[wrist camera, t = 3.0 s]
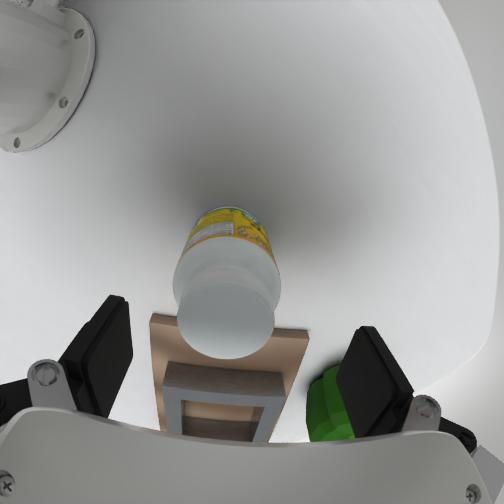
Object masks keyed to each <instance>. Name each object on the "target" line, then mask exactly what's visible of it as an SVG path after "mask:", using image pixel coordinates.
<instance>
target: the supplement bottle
mask: <svg viewBox="0 0 504 504" xmlns="http://www.w3.org/2000/svg"><path fill="white" fill-rule="evenodd" d="M280 292H281V281H280V274H279V271H278V268H277V265H276V262H275V260H274V257H273V254H272V250H271V247H270V244H269V241H268V238H267V235H266V232H265V230H264V228H263V226H262V224H261V223H260V222H259V220H258V219H257V218H255V217H254V216H253V215H252V214H250V213H248V212H247V211H245V210H243V209H241V208H237V207H232V206H225V207H219V208H216V209H213V210H211V211H209V212H207V213H206V214H204V215H203V216H202V217H201V218H200V219H199V220H198V221H197V223H196V224H195V226H194V228H193V230H192V232H191V234H190V236H189V238H188V241H187V243H186V245H185V248H184V250H183V253H182V255H181V257H180V259H179V262H178V264H177V267H176V270H175V273H174V277H173V293H174V297H175V300H176V303H177V305H178V307H179V309H178V313H177V322H178V328H179V331H180V333H181V335H182V337H183V338H184V340H185V341H186V342H187V343H188V344H189V345H190V346H191V347H192V348H193V349H195V350H196V351H198V352H200V353H202V354H204V355H207V356H209V357H213V358H218V359H237V358H242V357H245V356H248V355H250V354H253V353H254V352H256V351H258V350H259V349H260V348H262V347H263V346H264V345H265V344H266V343H267V341H268V340H269V339H270V337H271V335H272V332H273V329H274V322H275V318H274V310H275V308H276V306H277V304H278V301H279V298H280Z"/></svg>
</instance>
